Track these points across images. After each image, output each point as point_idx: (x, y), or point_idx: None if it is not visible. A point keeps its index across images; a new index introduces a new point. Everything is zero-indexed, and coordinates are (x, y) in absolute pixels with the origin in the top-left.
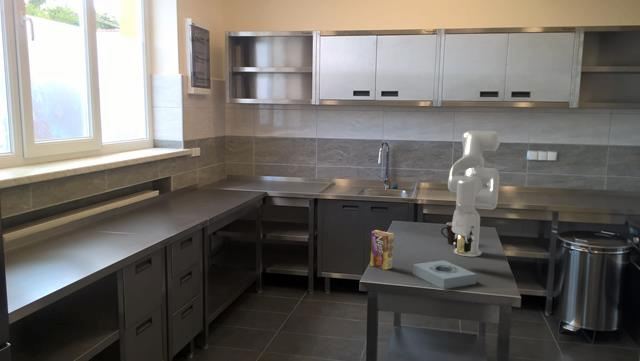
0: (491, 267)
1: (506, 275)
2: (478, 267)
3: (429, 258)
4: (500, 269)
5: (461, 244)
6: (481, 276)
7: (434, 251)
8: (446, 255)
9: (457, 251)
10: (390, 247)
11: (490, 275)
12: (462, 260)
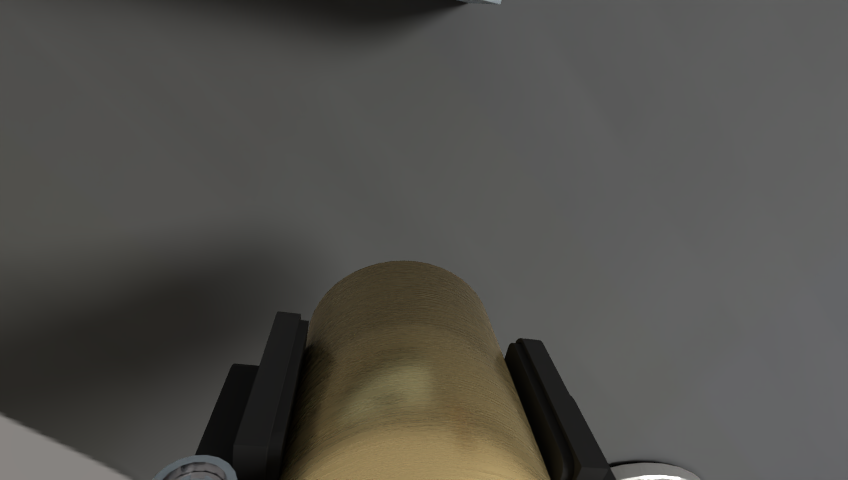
0: None
1: (2, 408)
2: None
3: (791, 198)
4: None
5: (354, 383)
6: (44, 187)
7: (834, 381)
8: (705, 386)
9: (436, 278)
10: None
11: (48, 292)
12: None
